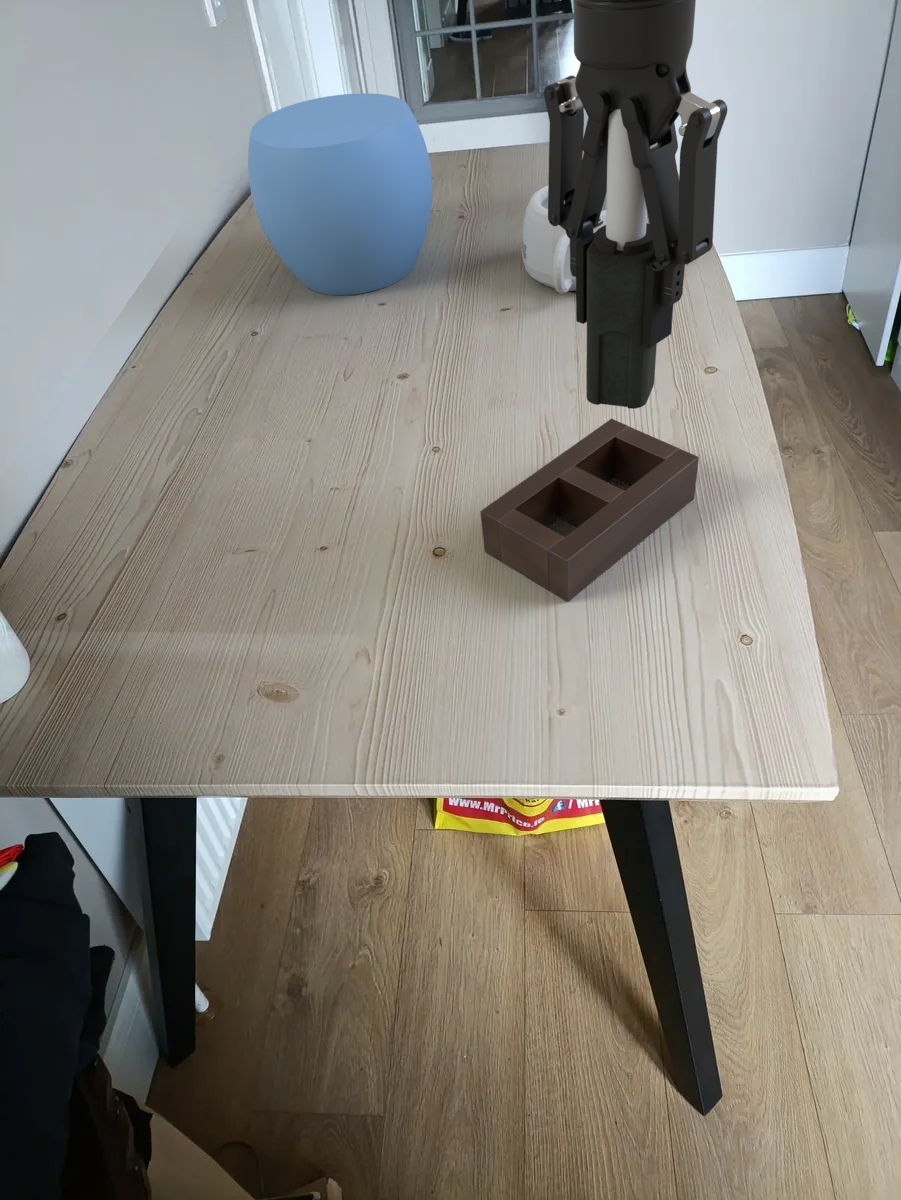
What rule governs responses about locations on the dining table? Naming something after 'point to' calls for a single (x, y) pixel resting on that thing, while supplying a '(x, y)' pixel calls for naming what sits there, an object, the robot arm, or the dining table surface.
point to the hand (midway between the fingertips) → (622, 327)
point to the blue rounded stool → (342, 190)
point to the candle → (619, 285)
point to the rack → (589, 507)
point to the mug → (548, 245)
